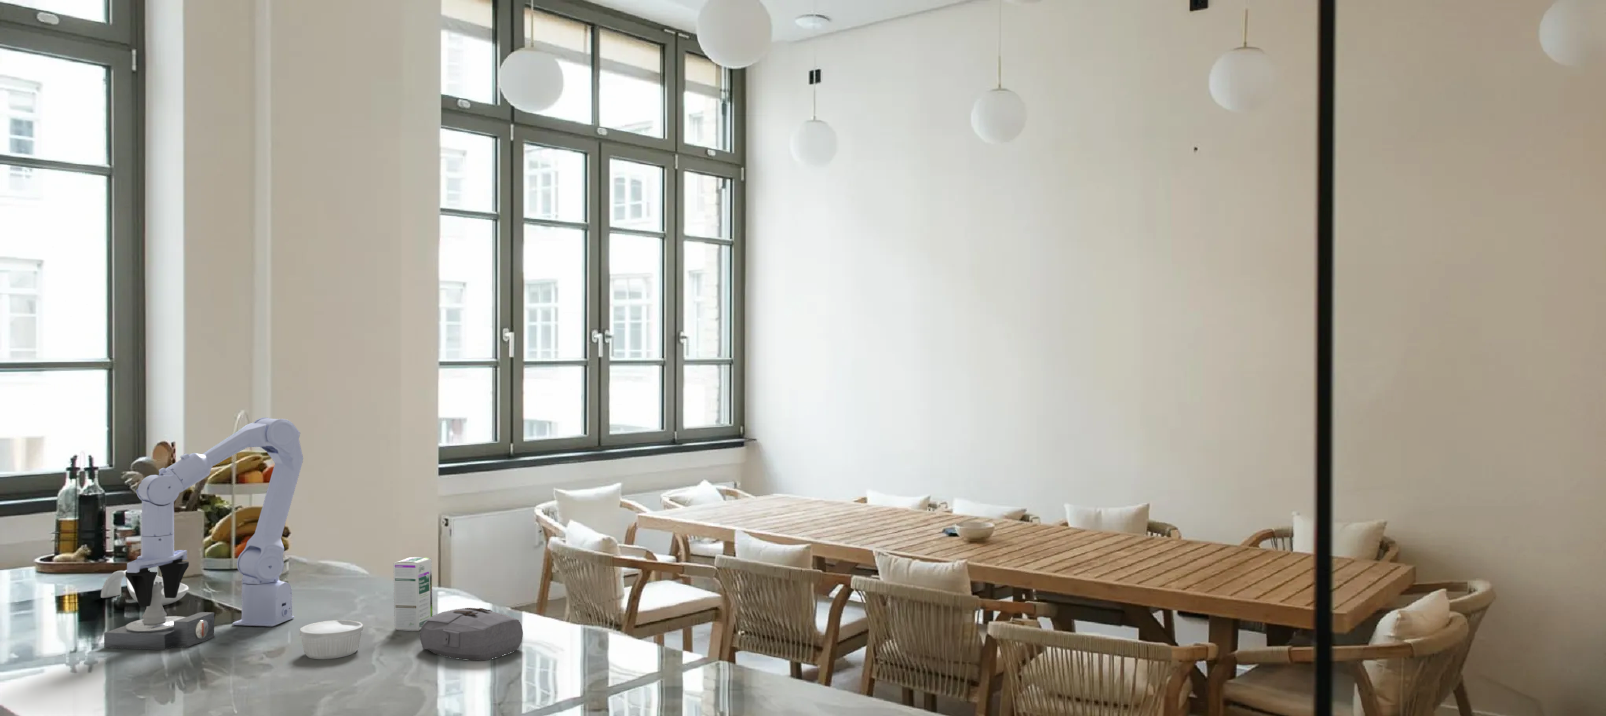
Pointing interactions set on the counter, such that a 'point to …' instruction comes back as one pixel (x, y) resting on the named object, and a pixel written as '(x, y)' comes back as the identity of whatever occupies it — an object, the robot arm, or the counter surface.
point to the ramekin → (331, 638)
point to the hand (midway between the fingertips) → (157, 601)
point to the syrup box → (412, 593)
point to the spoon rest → (114, 589)
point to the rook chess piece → (155, 607)
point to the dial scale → (162, 633)
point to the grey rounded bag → (471, 634)
